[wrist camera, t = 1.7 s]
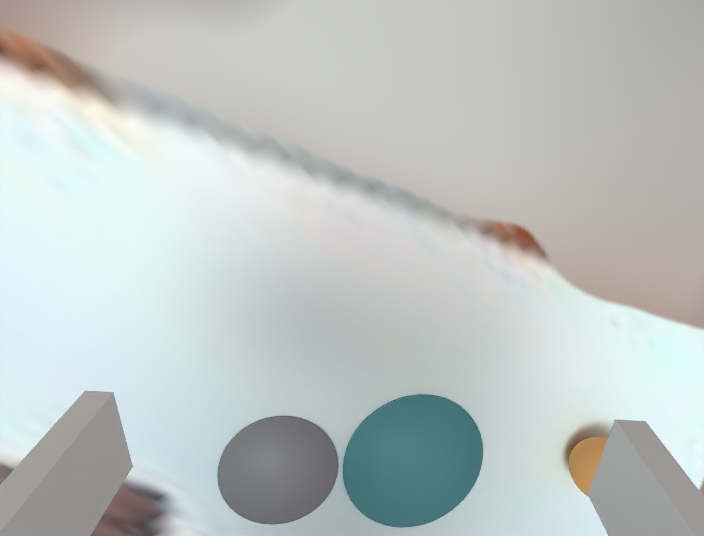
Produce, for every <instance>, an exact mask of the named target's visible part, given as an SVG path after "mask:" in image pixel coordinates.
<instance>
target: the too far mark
mask: <svg viewBox="0 0 704 536" xmlns="http://www.w3.org/2000/svg"><path fill="white" fill-rule="evenodd" d="M337 471H338V461H337V455H336V451H335V448H334V446H333V444H332V442H331V440H330V439H329V437H328V436H327V435H326V434H325V433H324V432H323V431H322V430H321V429H320V428H319V427H317V426H316V425H314V424H312V423H311V422H308V421H306V420H303V419H300V418H296V417H289V416H279V417H271V418H266V419H263V420H260V421H257V422H255V423H253V424H251V425H249V426H247V427H246V428H244V429H243V430H241V431H240V432H239V433H238V434H237V435H236V436H235V437H234V438H233V439H232V440H231V441H230V442H229V444H228V445H227V446H226V448H225V450H224V452H223V454H222V456H221V459H220V463H219V467H218V485H219V489H220V492H221V494H222V497H223V498H224V500H225V502H226V503H227V504H228V505H229V507H230V508H231V509H232V510H233V511H235V512H236V513H237V514H239V515H240V516H242V517H244V518H246V519H248V520H250V521H253V522H257V523H262V524H282V523H287V522H291V521H294V520H297V519H300V518H302V517H304V516H306V515H308V514H309V513H311V512H312V511H314V510H315V509H316V508H317V507H318V506H320V504H321V503H322V502H323V501H324V500H325V499H326V498H327V496H328V495H329V493H330V492H331V490H332V488H333V486H334V483H335V480H336V477H337Z"/></svg>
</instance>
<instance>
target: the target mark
mask: <svg viewBox="0 0 704 536" xmlns="http://www.w3.org/2000/svg"><path fill="white" fill-rule="evenodd" d="M482 459H483V446H482V439H481V435H480V432H479V430H478V427H477V426H476V424H475V422H474V420H473V419H472V418H471V417H470V415H469V414H468V413H467V412H466V411H465V410H464V409H463V408H462V407H460V406H459V405H457V404H456V403H454V402H452V401H450V400H448V399H445V398H442V397H438V396H432V395H413V396H407V397H403V398H400V399H397V400H394V401H392V402H390V403H387V404H385V405H383V406H382V407H380V408H379V409H377V410H376V411H374V412H373V413H372V414H371V415H370V416H368V417H367V418H366V419H365V420H364V421H363V422H362V423H361V425H360V426H359V427H358V429H357V430H356V431H355V433H354V435H353V436H352V438H351V440H350V442H349V444H348V447H347V449H346V453H345V457H344V464H343V477H344V483H345V487H346V490H347V493H348V495H349V497H350V499H351V501H352V502H353V503H354V505H355V506H356V507H357V508H358V510H359V511H360V512H361V513H363V514H364V515H365V516H367V517H368V518H370V519H372V520H373V521H375V522H378V523H381V524H383V525H387V526H392V527H413V526H419V525H423V524H426V523H429V522H432V521H434V520H436V519H438V518H440V517H442V516H444V515H445V514H447V513H448V512H450V511H451V510H453V509H454V508H455V507H456V506H457V505H459V503H460V502H461V501H462V500H463V499H464V498H465V497H466V496H467V494H468V493H469V492H470V490H471V489H472V487H473V485H474V484H475V482H476V480H477V477H478V475H479V472H480V469H481V464H482Z"/></svg>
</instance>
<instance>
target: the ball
mask: <svg viewBox="0 0 704 536" xmlns="http://www.w3.org/2000/svg"><path fill="white" fill-rule="evenodd" d="M607 440H608V439H607V438H602V437H590V438H587V439H584V440H582V441H580V442H579V443H578V444H577V445H576V446H575V447H574V448H573V450H572V451H571V454H570V457H569V469H570V473H571V476H572V478H573V480H574V482H575V484H576V485H577V486H578V488H579V489H580V490H581V491H582V492H583V493H584V494H586V495H587V496H588V494H587V493H588V491H589V488H590V485H591V483H592V480H593V477H594V475H595V472H596V469H597V467H598V464H599V461H600V458H601V456H602V453H603V450H604V448H605V445H606V442H607Z"/></svg>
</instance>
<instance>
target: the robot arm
mask: <svg viewBox="0 0 704 536" xmlns="http://www.w3.org/2000/svg"><path fill="white" fill-rule="evenodd" d="M131 468H132V462H131V458H130V455H129V451H128V447H127V443H126V439H125V435H124V432H123V428H122V424H121V420H120V416H119V412H118V409H117V405H116V401H115V397H114V393H113V392H98V391H85V392H84V393H83V394H82V395H81V396H80V397H79V398H78V399H77V400H76V401H75V403H74V404H73V405H72V406H71V407H70V408H69V409H68V410H67V411H66V413H65V414H64V415H63V416H62V417H61V418H60V419H59V420H58V421H57V423H56V424H55V425H54V426H53V427H52V428H51V429H50V430H49V431H48V433H47V434H46V435H45V436H44V437H43V438H42V439H41V440H40V441H39V443H38V444H37V445H36V446H35V447H34V448H33V449H32V450H31V451H30V452H29V454H28V455H27V456H26V457H25V458H24V459H23V460H22V461H21V462H20V464H19V465H18V466H17V467H16V468H15V469H14V470H13V471H12V472H11V474H10V475H9V476H8V477H7V478H6V479H5V480H4V481H3V482H2V484H1V485H0V536H90V535H91V534H92V532H93V530H94V529H95V527H96V525H97V524H98V522H99V521H100V519H101V517H102V516H103V514H104V512H105V511H106V509H107V507H108V506H109V504H110V503H111V501H112V499H113V498H114V496H115V494H116V493H117V491H118V489H119V488H120V486H121V485H122V483H123V481H124V480H125V478H126V476H127V475H128V473H129V471H130V470H131ZM587 494H588V496H589V498H590V500H591V502H592V504H593V506H594V508H595V510H596V512H597V514H598V515H599V517H600V519H601V521H602V523H603V525H604V527H605V529H606V531H607V533H608V535H609V536H704V497H703V495H702V494H701V493H700V491H699V490H698V489H697V487H696V486H695V485H694V484H693V482H692V481H691V480H690V478H689V477H688V476H687V475H686V473H685V472H684V471H683V469H682V468H681V467H680V465H679V464H678V463H677V462H676V460H675V459H674V458H673V456H672V455H671V454H670V452H669V451H668V450H667V449H666V447H665V446H664V445H663V443H662V442H661V441H660V440H659V438H658V437H657V436H656V434H655V433H654V432H653V430H652V429H651V428H650V427H649V425H648V424H647V423H646V421H631V420H615V421H614V424H613V426H612V429H611V432H610V434H609V437H608V440H607V442H606V445H605V448H604V450H603V453H602V456H601V458H600V461H599V464H598V467H597V469H596V472H595V475H594V477H593V480H592V483H591V485H590V488H589V491H588V493H587Z"/></svg>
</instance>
